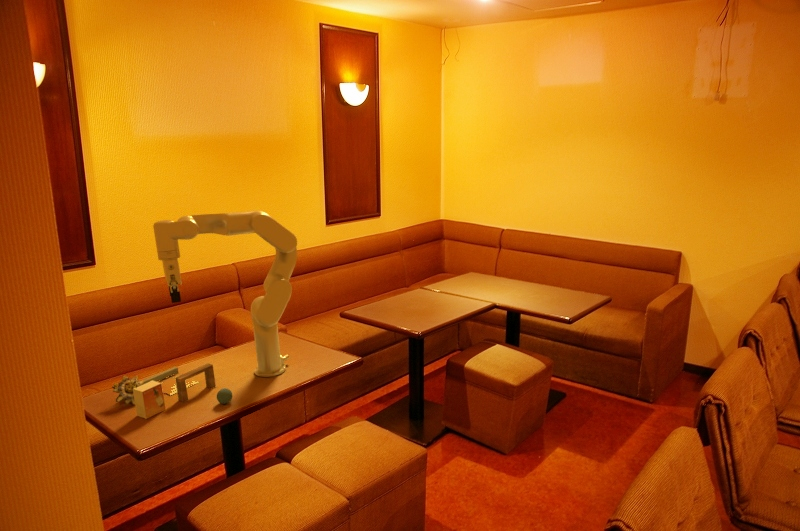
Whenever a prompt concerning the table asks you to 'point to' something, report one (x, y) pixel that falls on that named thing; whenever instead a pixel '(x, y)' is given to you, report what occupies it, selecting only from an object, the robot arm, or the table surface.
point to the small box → (149, 399)
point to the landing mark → (186, 387)
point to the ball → (224, 396)
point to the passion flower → (127, 389)
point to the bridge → (181, 379)
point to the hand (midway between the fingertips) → (175, 298)
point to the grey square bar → (161, 375)
